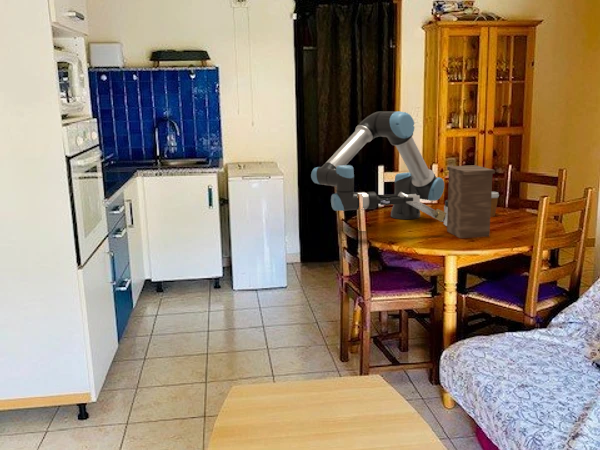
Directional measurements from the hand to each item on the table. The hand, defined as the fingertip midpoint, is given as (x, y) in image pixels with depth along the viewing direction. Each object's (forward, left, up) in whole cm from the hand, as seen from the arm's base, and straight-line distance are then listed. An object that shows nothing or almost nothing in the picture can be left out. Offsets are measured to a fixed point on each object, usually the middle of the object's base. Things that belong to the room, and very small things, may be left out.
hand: (417, 197), depth 264 cm
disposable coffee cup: (-34, +53, -18) cm, 65 cm away
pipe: (0, +1, -6) cm, 6 cm away
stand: (0, +25, -18) cm, 30 cm away
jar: (-18, +26, -18) cm, 36 cm away
